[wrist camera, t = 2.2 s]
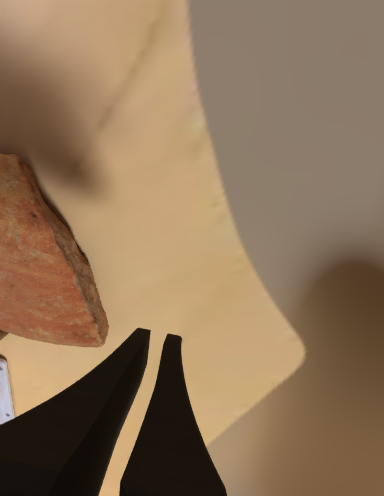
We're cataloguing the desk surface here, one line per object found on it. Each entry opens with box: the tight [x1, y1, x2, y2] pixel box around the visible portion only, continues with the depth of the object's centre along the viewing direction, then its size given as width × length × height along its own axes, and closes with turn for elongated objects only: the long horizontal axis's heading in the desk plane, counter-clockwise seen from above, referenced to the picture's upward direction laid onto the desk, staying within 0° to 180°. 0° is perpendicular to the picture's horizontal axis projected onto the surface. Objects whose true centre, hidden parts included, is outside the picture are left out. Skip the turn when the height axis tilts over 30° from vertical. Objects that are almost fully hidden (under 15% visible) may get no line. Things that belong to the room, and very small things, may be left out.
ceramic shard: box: [0, 153, 109, 347], centre depth 20 cm, size 15×6×15 cm
